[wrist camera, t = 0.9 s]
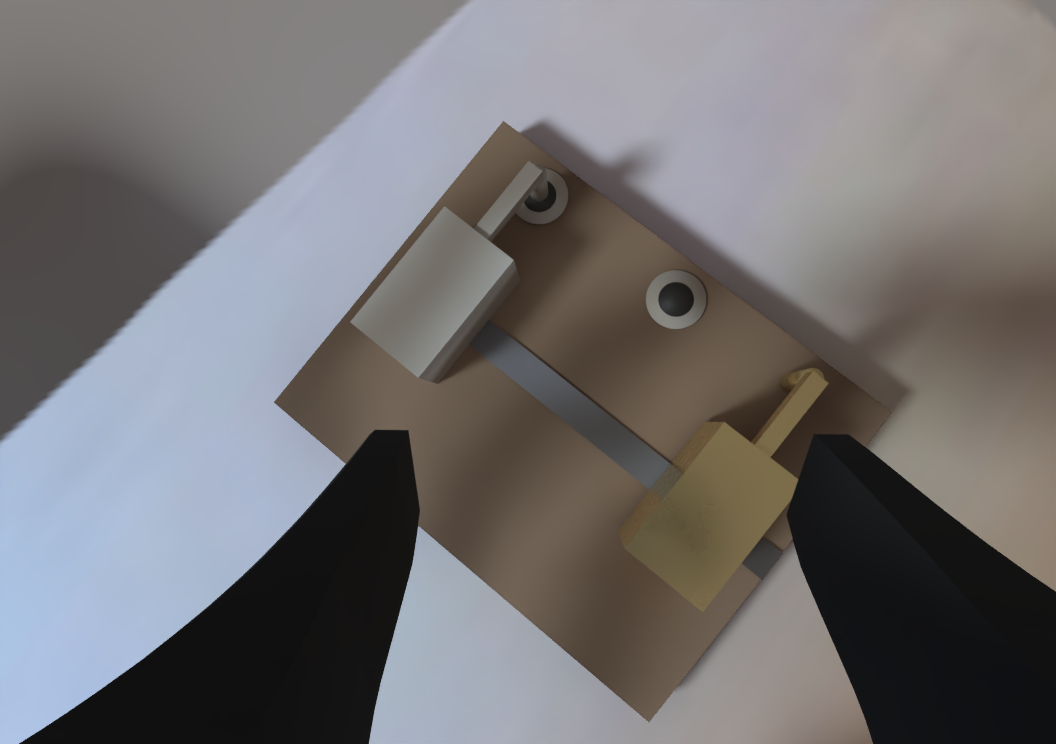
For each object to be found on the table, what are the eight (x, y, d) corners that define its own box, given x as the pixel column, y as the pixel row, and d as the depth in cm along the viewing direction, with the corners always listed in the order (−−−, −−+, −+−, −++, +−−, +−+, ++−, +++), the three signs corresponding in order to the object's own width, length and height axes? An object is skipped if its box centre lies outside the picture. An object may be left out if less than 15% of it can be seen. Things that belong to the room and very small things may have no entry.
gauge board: (871, 412, 23) (942, 410, 19) (643, 703, 23) (662, 770, 19) (507, 138, 25) (494, 77, 21) (291, 403, 25) (231, 399, 21)
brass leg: (829, 401, 22) (870, 398, 19) (684, 586, 22) (702, 612, 19) (760, 349, 22) (790, 338, 19) (616, 531, 22) (624, 548, 19)
